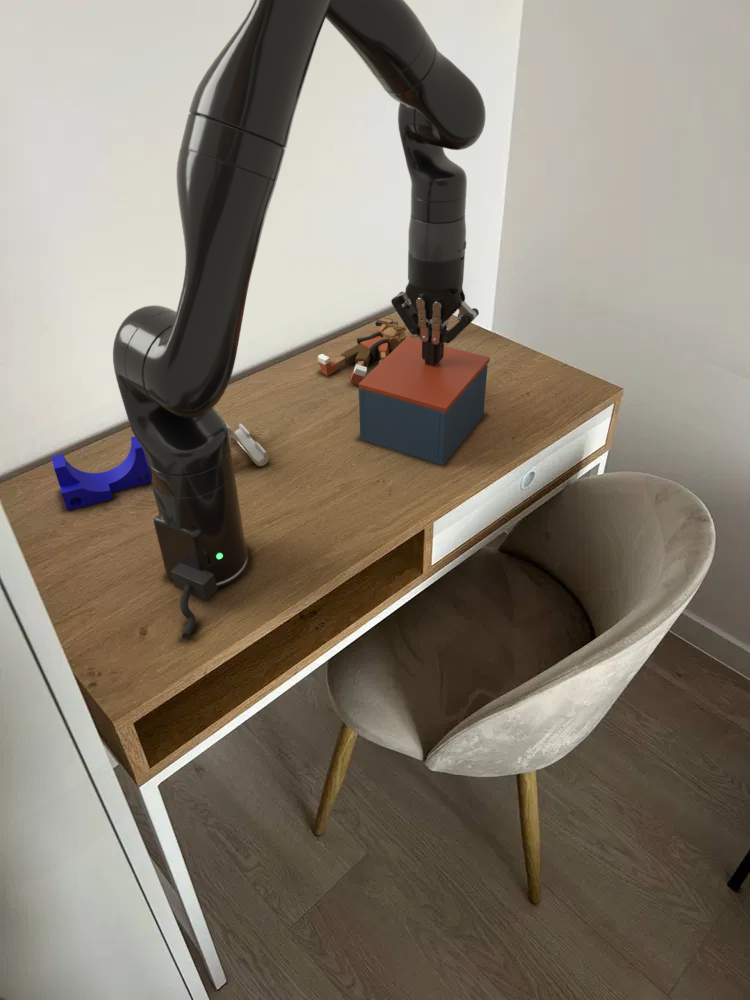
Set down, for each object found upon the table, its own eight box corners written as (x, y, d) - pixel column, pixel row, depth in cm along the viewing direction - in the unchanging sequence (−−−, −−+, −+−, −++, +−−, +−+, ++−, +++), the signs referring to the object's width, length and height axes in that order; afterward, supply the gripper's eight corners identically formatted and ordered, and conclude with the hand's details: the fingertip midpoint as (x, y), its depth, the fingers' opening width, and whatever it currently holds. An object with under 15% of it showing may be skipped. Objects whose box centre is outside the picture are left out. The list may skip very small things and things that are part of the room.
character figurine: (305, 348, 135) (383, 303, 143) (309, 372, 139) (385, 327, 147) (352, 375, 129) (432, 326, 137) (356, 400, 132) (433, 351, 140)
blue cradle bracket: (67, 510, 109) (55, 475, 105) (62, 491, 112) (51, 456, 108) (156, 487, 112) (148, 452, 109) (149, 469, 116) (141, 434, 112)
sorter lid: (407, 341, 125) (407, 336, 125) (489, 361, 120) (490, 357, 119) (358, 388, 115) (358, 383, 114) (445, 413, 110) (445, 408, 109)
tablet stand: (268, 464, 116) (262, 415, 111) (217, 482, 113) (208, 432, 108) (243, 434, 122) (236, 386, 117) (194, 451, 119) (185, 403, 113)
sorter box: (405, 393, 130) (405, 344, 125) (483, 415, 125) (487, 365, 120) (359, 439, 121) (358, 388, 115) (443, 465, 115) (445, 413, 110)
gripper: (379, 248, 107) (380, 363, 118) (471, 267, 102) (463, 386, 113) (405, 229, 112) (404, 341, 123) (494, 246, 107) (484, 361, 118)
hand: (432, 362), depth 118 cm, fingers closed
